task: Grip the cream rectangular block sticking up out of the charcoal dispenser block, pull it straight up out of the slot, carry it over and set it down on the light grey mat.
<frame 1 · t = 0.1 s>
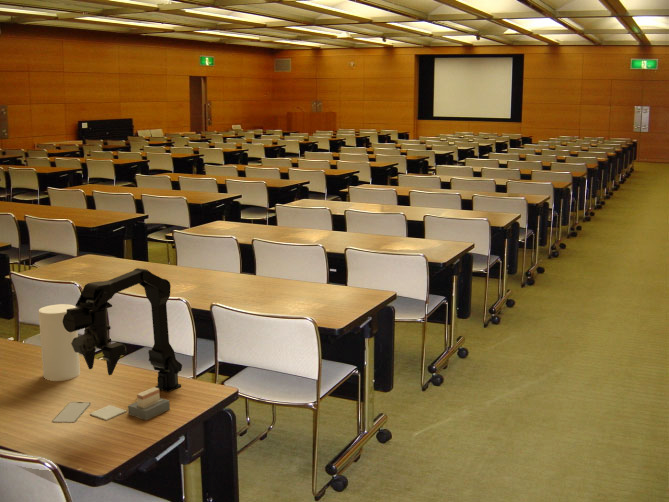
hand: (100, 371, 219), 15 cm above the table, tool pointing down, fingers open, 9 cm apart
mat: (108, 413, 224), on the table
cylinder: (62, 375, 256), on the table
dispenser: (149, 411, 225), on the table
cream rectangular block: (149, 412, 225), resting in dispenser
smartphone: (72, 414, 224), on the table
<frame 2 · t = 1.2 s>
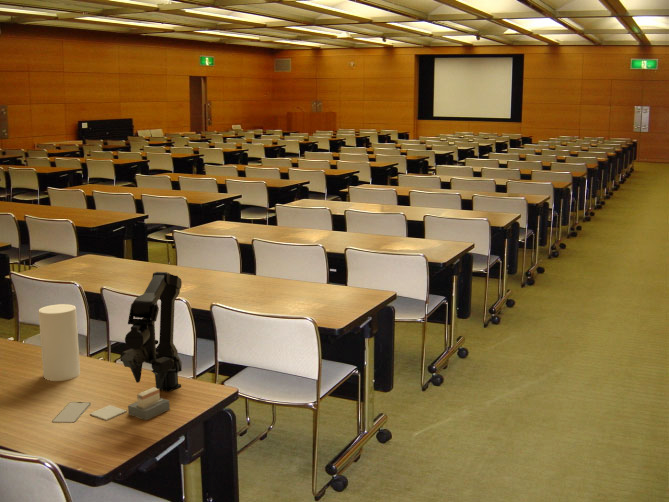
hand: (148, 385, 223), 9 cm above the table, tool pointing down, fingers open, 9 cm apart
nothing on the table moved.
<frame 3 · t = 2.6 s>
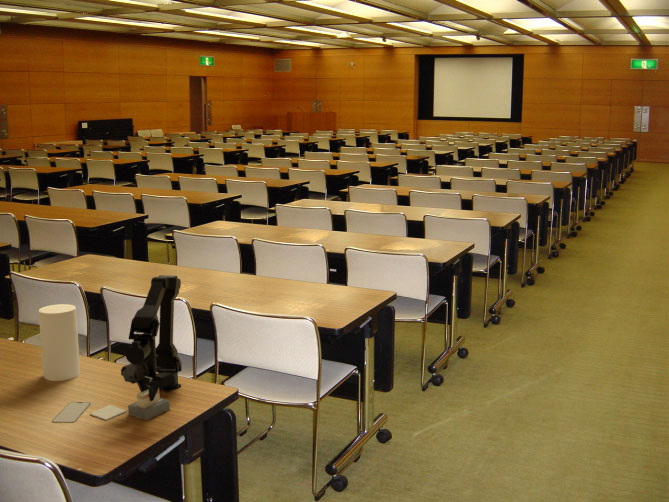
hand: (148, 399, 224), 4 cm above the table, tool pointing down, fingers closed on cream rectangular block, 2 cm apart
cream rectangular block: (149, 411, 225), resting in dispenser, touching gripper
everything else where it was.
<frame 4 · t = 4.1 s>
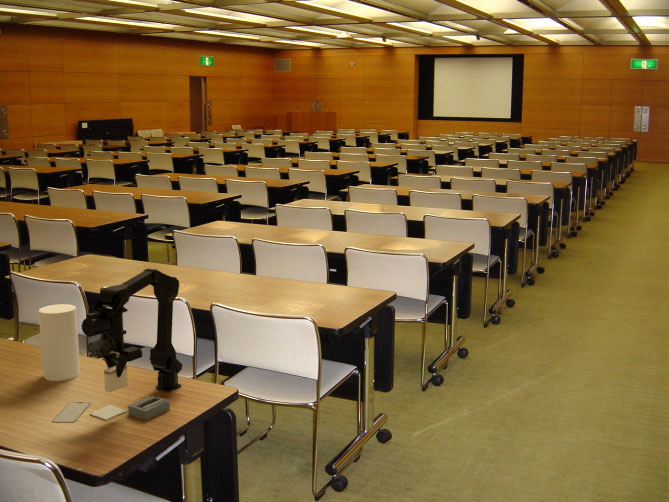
hand: (115, 376, 221), 13 cm above the table, tool pointing down, fingers closed on cream rectangular block, 2 cm apart
cream rectangular block: (116, 388, 222), point 8 cm above the table, touching gripper
everything else where it was.
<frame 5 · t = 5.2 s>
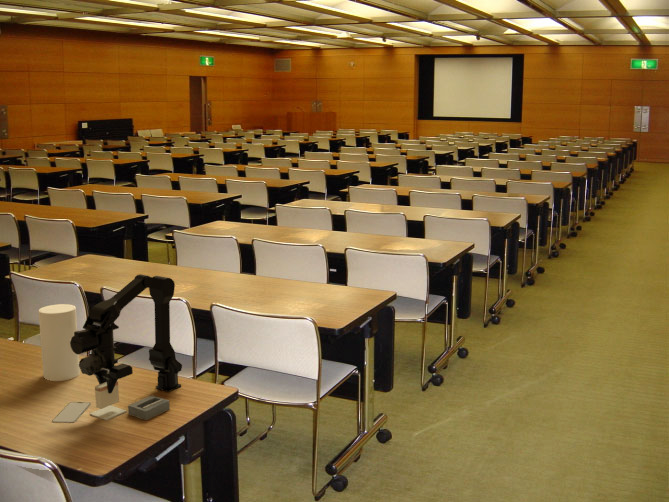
hand: (107, 392, 222), 7 cm above the table, tool pointing down, fingers closed on cream rectangular block, 2 cm apart
cream rectangular block: (107, 404, 223), point 3 cm above the table, touching gripper
everything else where it was.
when the fingers open (5 cm above the table, at t = 5.8 s): cream rectangular block stays where it is, resting on mat.
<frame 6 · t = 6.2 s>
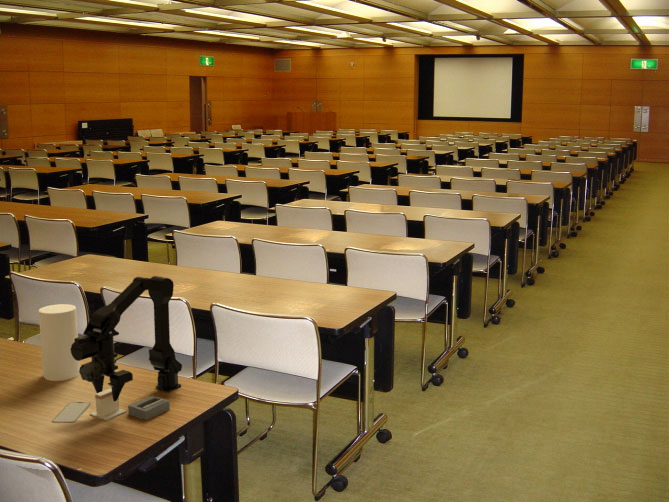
hand: (107, 398, 223), 5 cm above the table, tool pointing down, fingers open, 7 cm apart
cream rectangular block: (108, 412, 223), resting on mat
everything else where it was.
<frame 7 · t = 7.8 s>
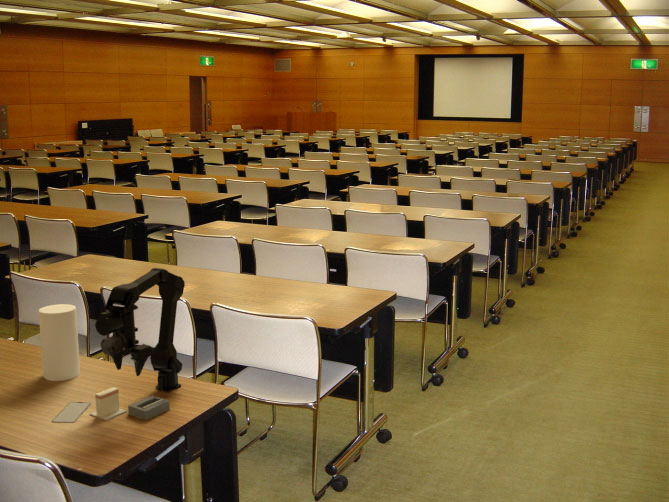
hand: (128, 372, 224), 13 cm above the table, tool pointing down, fingers open, 9 cm apart
nothing on the table moved.
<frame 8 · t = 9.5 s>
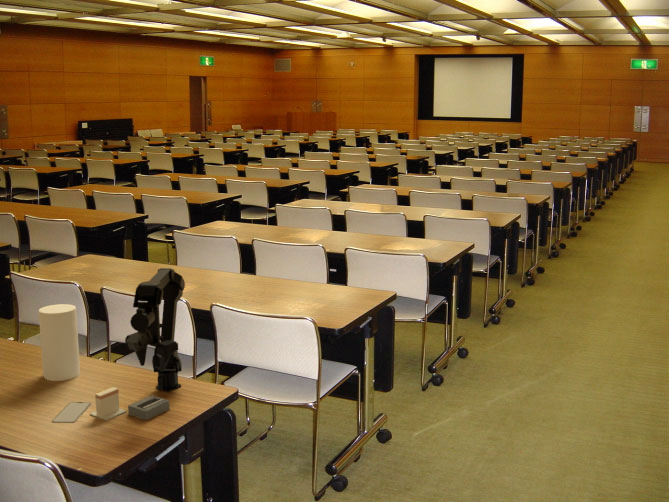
hand: (152, 368, 227), 13 cm above the table, tool pointing down, fingers open, 9 cm apart
nothing on the table moved.
at the end: cream rectangular block inside the target area on the mat (0.0 cm from its centre), point 0.4 cm above the mat's base; the gripper is holding nothing; cream rectangular block touching mat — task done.
